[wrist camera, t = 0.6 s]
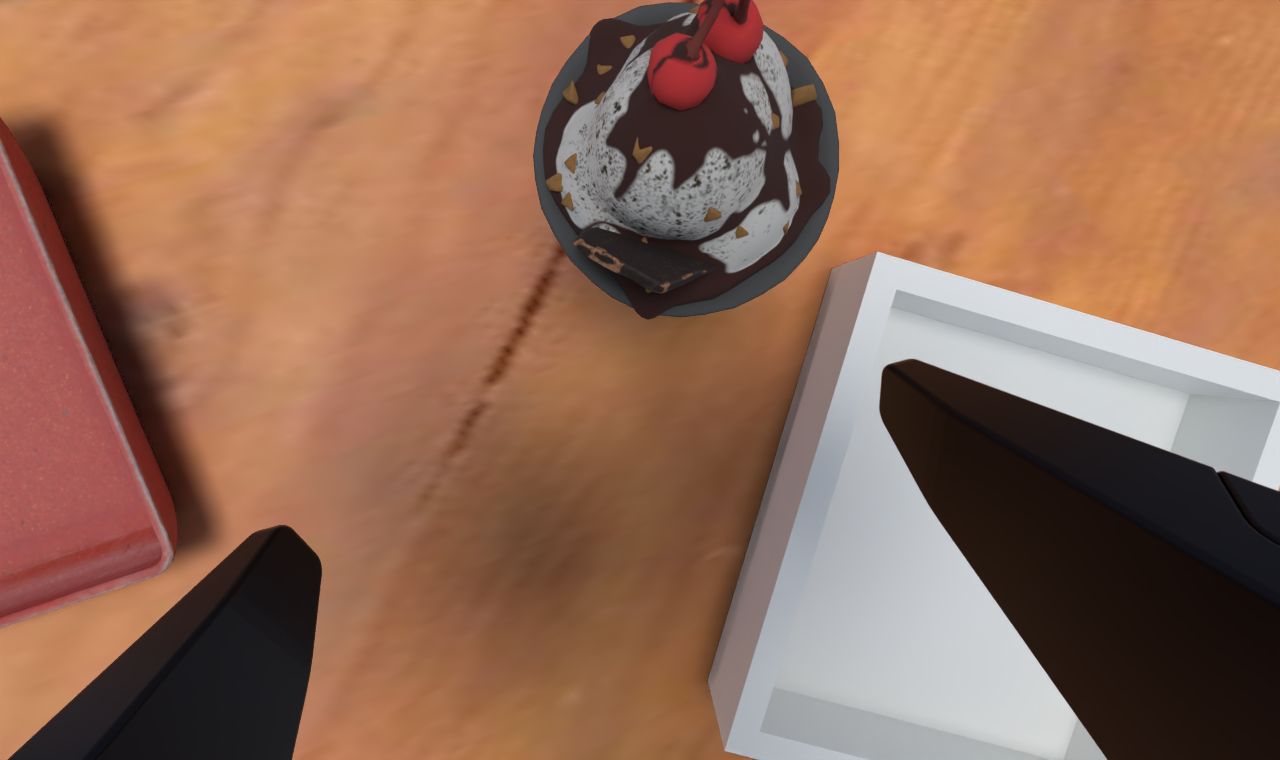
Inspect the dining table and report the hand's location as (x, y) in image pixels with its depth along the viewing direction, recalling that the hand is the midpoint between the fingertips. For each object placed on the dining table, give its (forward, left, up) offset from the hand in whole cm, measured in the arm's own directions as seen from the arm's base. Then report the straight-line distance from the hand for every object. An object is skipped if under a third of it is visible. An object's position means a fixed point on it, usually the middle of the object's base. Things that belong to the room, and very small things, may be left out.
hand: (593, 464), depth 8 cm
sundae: (+6, 0, -14) cm, 15 cm away
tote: (-2, -15, -14) cm, 21 cm away
